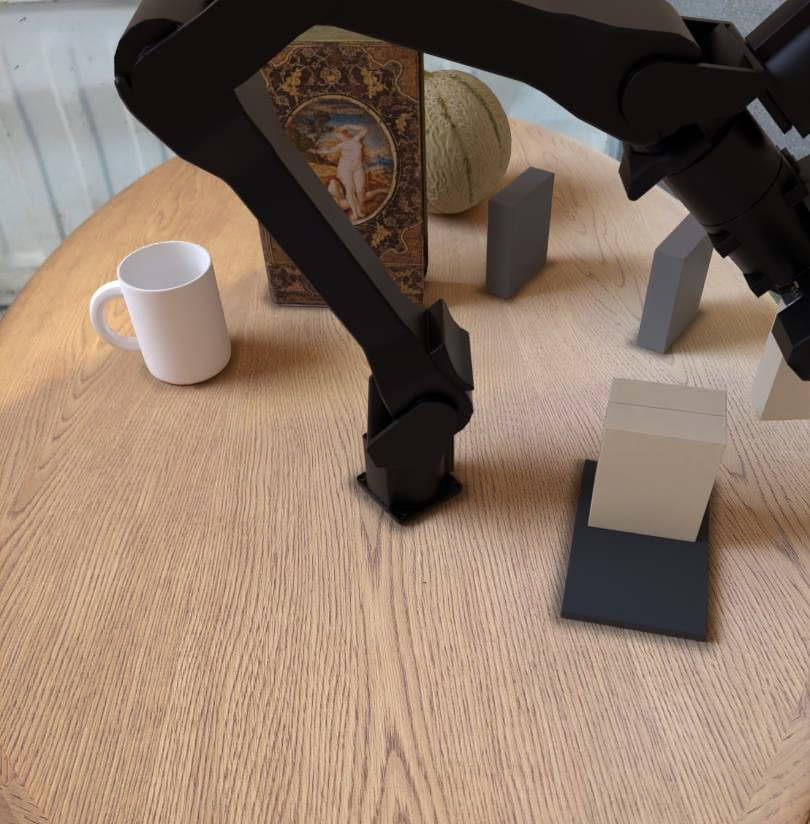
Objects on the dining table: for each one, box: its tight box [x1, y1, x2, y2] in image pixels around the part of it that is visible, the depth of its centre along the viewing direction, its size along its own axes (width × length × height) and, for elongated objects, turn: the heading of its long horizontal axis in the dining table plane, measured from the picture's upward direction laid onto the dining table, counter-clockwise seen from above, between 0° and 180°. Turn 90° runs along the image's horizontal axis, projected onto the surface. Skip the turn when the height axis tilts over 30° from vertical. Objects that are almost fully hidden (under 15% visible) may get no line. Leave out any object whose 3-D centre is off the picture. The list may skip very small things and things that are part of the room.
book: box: [256, 23, 429, 308], centre depth 82 cm, size 16×6×25 cm, turn 84°
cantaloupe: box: [424, 68, 513, 214], centre depth 97 cm, size 15×15×15 cm
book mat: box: [560, 377, 728, 642], centre depth 63 cm, size 10×16×11 cm, turn 166°
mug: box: [89, 240, 232, 386], centre depth 80 cm, size 12×8×10 cm
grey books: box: [484, 166, 714, 355], centre depth 85 cm, size 8×20×10 cm, turn 55°
